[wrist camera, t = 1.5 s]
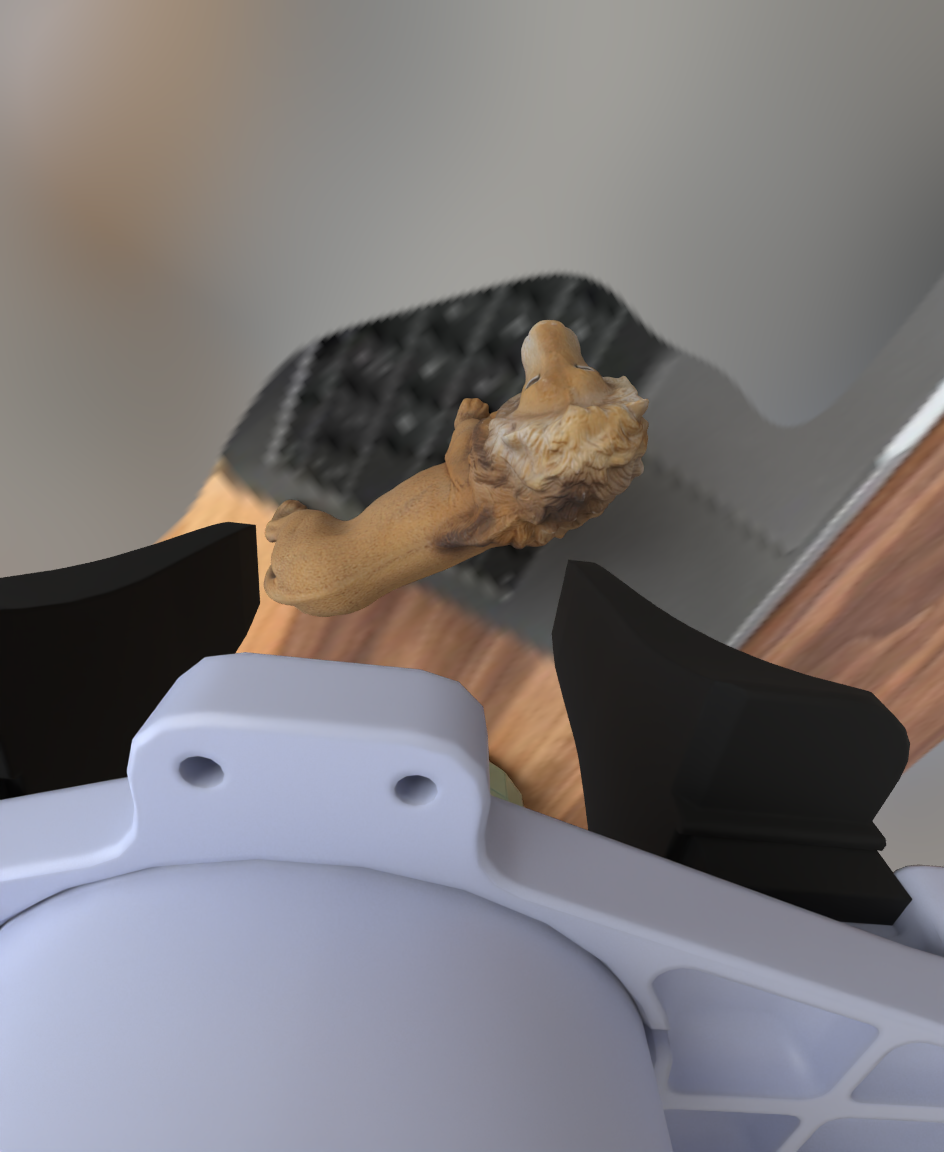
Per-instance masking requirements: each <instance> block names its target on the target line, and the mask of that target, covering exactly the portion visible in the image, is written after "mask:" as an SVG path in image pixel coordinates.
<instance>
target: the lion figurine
mask: <svg viewBox="0 0 944 1152" xmlns="http://www.w3.org/2000/svg"><path fill="white" fill-rule="evenodd" d="M521 355H522V362H523V365H524V369H525V373H526V382H525V385H524V387H523V390H522V393H519V394H518V395H516V396H514V397H513V398H511V399H509V400H508V401H507V402H506V403H504V404H503V405H502V406H501V407H500V409H499V410H498V411H496V412H493V413H491V414H489V412H488V409H489V406H488V404H486V403H483V402H482V401H481V400H480V399H478V398H474V399H469V398H466V399H464V400H463V401H462V403H461V405H460V408H459V410H458V413H457V416H456V419H455V422H454V426H455V431H454V432H453V435H452V440H451V443H450V446H449V449H448V451H447V453H446V455H445V460H446V462H445V463H443V464H440V465H436V466H433V467H431V468H428V469H426V470H424V471H421V472H419V473H417V474H416V475H414V476H412V477H411V478H409V479H407V480H406V481H404V482H402V483H401V484H399V485H398V486H396V487H395V488H394V489H392V490H391V491H389V492H387V493H386V494H384V495H382V496H381V497H379V498H378V499H377V500H375V501H374V502H373V503H372V504H371V505H370V506H369V507H367V508H366V509H365V510H364V511H363V512H362V513H361V514H360V515H359V516H357V517H356V518H354V519H352V520H349V521H341V520H339V519H336V518H334V517H333V516H331V515H329V514H327V513H325V512H322V511H319V510H311V509H308V508H307V506H305V505H303V504H302V503H301V502H299V501H296V500H287V501H285V502H283V503H282V504H281V505H280V506H279V508H278V509H277V511H276V512H275V514H274V516H273V518H272V520H271V521H270V522H269V523H268V524H267V526H266V529H265V536H266V539H267V540H268V541H269V542H276V543H275V546H274V549H273V553H272V557H271V565H270V567H269V569H268V571H267V573H266V576H265V579H264V589H265V591H266V593H267V595H268V596H269V597H270V598H271V599H273V600H274V601H276V602H278V603H281V604H285V605H291V606H295V607H296V608H297V609H298V610H300V611H301V612H303V613H305V614H309V615H313V616H319V617H329V616H335V615H343V614H349V613H353V612H355V611H358V610H361V609H363V608H365V607H367V606H369V605H370V604H372V603H373V602H374V601H376V600H377V599H378V598H380V597H382V596H383V595H385V594H387V593H389V592H391V591H393V590H395V589H396V588H399V587H401V586H404V585H406V584H409V583H411V582H414V581H417V580H419V579H422V578H424V577H427V576H430V575H432V574H435V573H438V572H440V571H443V570H446V569H448V568H450V567H452V566H454V565H456V564H458V563H460V562H463V561H465V560H466V559H469V558H471V557H473V556H475V555H478V554H480V553H482V552H484V551H486V550H487V549H489V548H493V547H498V546H505V545H512V546H513V547H514V548H516V549H522V548H524V547H525V546H534V547H537V546H544V545H546V544H547V543H548V542H549V541H550V540H551V539H552V538H554V537H556V538H563V537H564V535H565V534H566V532H567V531H568V530H571V529H576V528H578V527H579V526H582V525H583V524H584V523H585V522H586V521H587V520H589V519H590V518H594V517H598V516H600V515H601V514H602V513H603V512H604V510H605V509H606V508H607V506H608V504H609V503H611V502H612V501H613V500H614V498H615V497H616V495H618V494H621V493H622V492H624V491H625V490H626V489H627V488H628V487H629V485H630V483H631V481H632V480H633V478H634V477H637V476H640V475H641V474H642V473H643V471H644V466H643V463H642V461H641V458H642V456H643V455H644V454H645V451H646V448H647V441H648V436H647V429H648V421H646V420H645V419H644V418H643V417H642V415H643V414H644V413H645V411H646V410H647V408H648V403H649V401H648V399H642V398H641V397H639V396H638V392H637V390H636V389H635V387H634V386H633V385H632V384H631V383H630V382H629V380H628V379H627V378H626V377H625V376H623V377H621V378H611V377H601V375H600V374H599V373H598V371H596V370H595V369H594V368H591V367H589V366H588V365H587V364H586V363H585V361H584V360H583V358H582V356H581V352H580V345H579V342H578V339H577V336H576V335H575V334H574V332H573V331H572V330H570V329H569V328H567V327H565V326H564V325H563V324H562V323H561V322H559V321H555V320H543V321H540V322H538V323H537V324H535V325H534V326H533V327H532V329H531V330H530V332H529V336H527V337H526V338H525V340H524V343H523V346H522V349H521Z"/></svg>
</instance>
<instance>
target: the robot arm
mask: <svg viewBox="0 0 944 1152" xmlns="http://www.w3.org/2000/svg"><path fill="white" fill-rule="evenodd" d="M259 605H260V593H259V575H258V557H257V540H256V525H251V524H242V523H233V522H225V523H219V524H215V525H211V526H208V527H205V528H202V529H198V530H195V531H192V532H189V533H186V534H183V535H180V536H178V537H175V538H172V539H169V540H166V541H163V542H160V543H157V544H154V545H150V546H147V547H144V548H140V549H137V550H134V551H130V552H127V553H124V554H121V555H117V556H114V557H110V558H106V559H102V560H98V561H94V562H90V563H85V564H81V565H76V566H72V567H67V568H62V569H56V570H51V571H44V572H37V573H31V574H24V575H17V576H10V577H4V578H0V1152H944V867H941V866H928V865H911V866H905V867H903V868H900V869H898V870H896V871H894V872H892V871H891V869H890V868H889V866H888V865H887V864H886V862H885V861H884V859H883V858H882V857H881V855H880V854H879V853H878V851H877V850H880V851H882V850H883V849H884V847H885V846H886V840H885V837H884V836H883V835H882V833H881V832H880V831H879V830H878V828H877V827H876V826H875V824H874V823H873V822H872V821H873V819H874V817H875V816H876V814H877V813H878V811H879V810H880V808H881V807H882V805H883V804H884V802H885V801H886V799H887V798H888V796H889V795H890V793H891V792H892V790H893V788H894V787H895V785H896V784H897V782H898V781H899V779H900V777H901V775H902V773H903V771H904V769H905V766H906V764H907V762H908V757H909V748H910V742H909V739H908V736H907V732H906V729H905V727H904V726H903V725H902V724H901V723H900V722H899V720H898V719H897V718H896V717H895V716H894V715H893V714H892V713H891V712H890V711H889V710H888V709H887V708H886V707H885V706H884V705H883V704H882V703H881V701H880V700H879V699H878V698H877V697H876V696H875V695H874V694H873V693H871V692H869V691H866V690H862V689H858V688H854V687H850V686H847V685H843V684H839V683H835V682H831V681H827V680H823V679H819V678H816V677H812V676H809V675H805V674H802V673H799V672H796V671H793V670H790V669H787V668H784V667H781V666H778V665H775V664H772V663H769V662H767V661H764V660H761V659H758V658H756V657H753V656H751V655H748V654H746V653H744V652H741V651H739V650H737V649H734V648H732V647H729V646H727V645H725V644H723V643H721V642H719V641H716V640H714V639H712V638H710V637H708V636H706V635H705V634H703V633H701V632H699V631H697V630H695V629H693V628H691V627H689V626H688V625H686V624H684V623H682V622H681V621H679V620H677V619H676V618H674V617H672V616H671V615H669V614H668V613H666V612H665V611H663V610H662V609H660V608H658V607H657V606H655V605H654V604H653V603H651V602H650V601H648V600H647V599H645V598H644V597H642V596H641V595H640V594H638V593H637V592H636V591H634V590H633V589H631V588H630V587H629V586H627V585H626V584H625V583H623V582H622V581H621V580H619V579H618V578H617V577H615V576H614V575H613V574H611V573H610V572H608V571H607V570H606V569H604V568H603V567H601V566H599V565H597V564H595V563H591V562H582V561H573V560H568V564H567V568H566V572H565V577H564V581H563V586H562V590H561V595H560V599H559V603H558V608H557V612H556V617H555V621H554V626H553V630H552V642H553V653H554V661H555V668H556V672H557V676H558V680H559V684H560V688H561V692H562V695H563V699H564V703H565V706H566V710H567V714H568V718H569V721H570V725H571V729H572V732H573V736H574V740H575V744H576V748H577V753H578V758H579V764H580V771H581V778H582V785H583V792H584V799H585V807H586V815H587V824H588V830H585V829H583V828H580V827H577V826H574V825H572V824H569V823H566V822H563V821H561V820H558V819H555V818H552V817H550V816H547V815H544V814H541V813H539V812H536V811H533V810H530V809H528V808H525V807H522V806H519V805H517V804H514V803H511V802H508V801H506V800H503V799H500V798H497V797H495V796H492V795H491V794H490V773H489V749H488V733H487V727H486V721H485V715H484V709H483V706H482V705H481V704H480V703H479V702H478V701H477V700H476V699H475V698H474V697H473V696H472V695H471V694H470V693H469V692H468V691H467V690H466V689H465V688H464V687H463V686H462V685H461V684H460V683H459V682H458V681H455V680H451V679H448V678H445V677H442V676H439V675H436V674H433V673H430V672H427V671H423V670H420V669H410V668H399V667H389V666H379V665H369V664H359V663H348V662H338V661H328V660H318V659H308V658H297V657H287V656H277V655H267V654H256V653H246V652H244V653H236V651H237V649H238V648H239V646H240V645H241V643H242V642H243V640H244V638H245V637H246V635H247V632H248V630H249V628H250V626H251V624H252V622H253V619H254V617H255V614H256V612H257V609H258V607H259ZM235 653H236V654H235Z"/></svg>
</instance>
